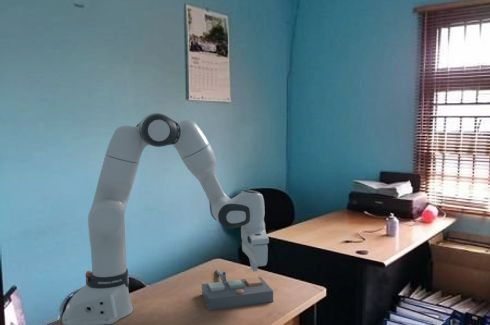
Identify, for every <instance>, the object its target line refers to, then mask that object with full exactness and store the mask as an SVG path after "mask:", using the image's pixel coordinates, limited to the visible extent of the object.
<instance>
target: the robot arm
mask: <svg viewBox="0 0 490 325" xmlns="http://www.w3.org/2000/svg"><path fill="white" fill-rule="evenodd" d="M148 146H150V147H151V146H152V147H157V148H160V147H162V148H163V147H167V146H173V147H174V148H175V150H176V151H177V153H178V156H180V158H181V160H182V162H183V164H184V165H185V166H186V168H187V169H188V171H189V172H190V173H191V174H192V175H193V177H195V178H196V179H197V180H198V183H200V185H201V188H202V189H203V192H204V193H205V195H206V197H207V200H208V201H209V202H208V203H209V211H210V215H211V217H212V218H213V220H215V221H216V222H218V223H219V224H220V225H221V226H222V227H224V228H225V229H230V230H231V229H235V228H239V227H240V233H241V234H240V235H241V236H240V237H241V240H242V241H241V250H242V252H243V253H244V254H245V255H246V256H247V257H248V259H249V264H250V269H251V271H252V272H257V271H258V267H265V266H267V263H268V252H269V250H268V244H269V242H270V239H269V236H268V235H267V232H266V231H267V230H266V223H265V214H266V213H265V212H266V211H265V208H266V207H265V199H264V196H263V194H262V193H261V192H260V191H257V190H253V189H244V190H242V191H241V192H240V193H239V194H237V195H236V196H234V197H232V198H231V197H230V196H228V195H227V194H226V193H225V191H224V189H223V187H222V186H221V184H220V181H219V180H218V177H217V175H216V172H215V168H216V164H217V158H216V155H215V152H214V150H213V147H212V145H211V144H210V142H209V140H208V138H207V137H206V135H205V133H204V132H203V130H202V129H201V128H200V126H199V124H197V123H196V122H195V121H194V120H191V119H190V120H189V119H185V120H182V121H179V122H176V121H175V120H173V119H172V118H170V117H169V116H167V115H164V114H163V113H159V112H154V113H149V114H148V115H146V116H144V118H142V120H140V122H139V123H137V125H135V126H131V125H121V126H118V127H116V129H115V130H114V132H113V134H112V135H111V138H110V140H109V143H108V145H107V148H106V151H105V156H104V158H103V159H104V160H103V161H102V165H101V166H102V167H101V170H100V174H99V177H98V180H97V184H96V189H95V192H94V196H93V201H92V204H91V207H90V210H89V213H88V216H87V225H88V235H89V246H90V251H91V252H90V254H91V255H90V256H91V270H87V271H86V272H85V285H84V286H83V287H81V288H80V289H79V290H78V291H77V292H75V293H74V294H73V296H72V297H71V299H70V302H69V304H68V305H69V306H68V308H67V309H65V310H64V312H63V314H62V316H61V323H62V325H113V324H114V323H116V322H117V321H119V320H121V319H124V318H126V317H127V316H129V315H130V314H131V313H132V312H133V311H134V307H133V304H132V300H131V296H130V292H129V283H130V282H129V281H130V279H129V278H130V277H129V271H128V270H129V269H128V268H127V250H126V249H127V248H126V232H125V229H126V227H125V224H126V223H125V211H126V208H127V205H128V201H129V198H130V195H131V192H132V189H133V186H134V183H135V179H136V175H137V171H138V167H139V165H140V164H139V163H140V160H141V156H142V153H143V151H144V149H145V148H146V147H148Z"/></svg>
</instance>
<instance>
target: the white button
mask: <svg viewBox="0 0 490 325" xmlns="http://www.w3.org/2000/svg"><path fill="white" fill-rule="evenodd" d="M208 288H209V290H210V292H212V291H220V290H225V286H224V285H223V283H222V281H218V282H217V281H216V282H209V283H208Z"/></svg>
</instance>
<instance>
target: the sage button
mask: <svg viewBox="0 0 490 325" xmlns="http://www.w3.org/2000/svg"><path fill="white" fill-rule="evenodd" d="M226 281H227V286H228V288H229V289H236V288H244V284H243V283H242V282H241V279H233V280H226Z"/></svg>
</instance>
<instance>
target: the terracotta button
mask: <svg viewBox="0 0 490 325" xmlns="http://www.w3.org/2000/svg"><path fill="white" fill-rule="evenodd" d="M244 279H245V283H246V285H247V286H248V287H252V286H260V285H262V282H261V281H260V279H259V278H258V277H250V278H244Z"/></svg>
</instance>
